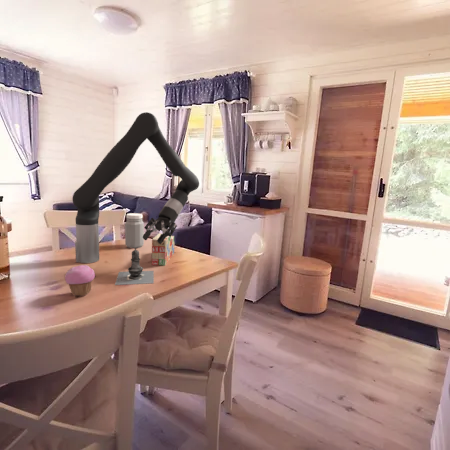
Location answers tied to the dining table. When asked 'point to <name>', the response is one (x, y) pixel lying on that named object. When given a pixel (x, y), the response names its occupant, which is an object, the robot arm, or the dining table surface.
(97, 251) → the robot arm
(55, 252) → the dining table surface
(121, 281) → the mat
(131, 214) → the jar
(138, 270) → the grey chess piece
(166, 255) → the stack of blocks
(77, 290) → the cupcake
